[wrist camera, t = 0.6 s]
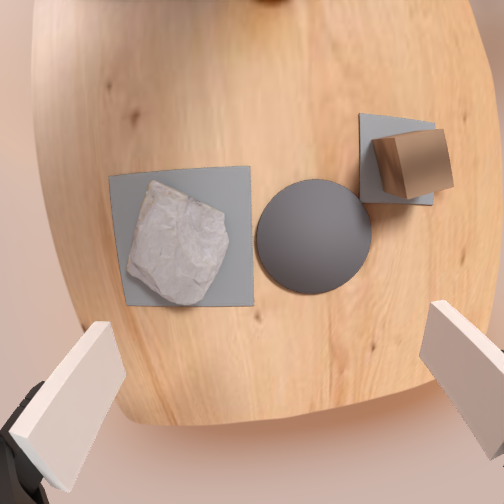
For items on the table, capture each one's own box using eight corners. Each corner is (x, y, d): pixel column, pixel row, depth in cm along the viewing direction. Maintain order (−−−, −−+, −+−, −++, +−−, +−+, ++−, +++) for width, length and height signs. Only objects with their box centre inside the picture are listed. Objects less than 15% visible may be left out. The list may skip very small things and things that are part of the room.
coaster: (255, 179, 33) (255, 180, 32) (372, 180, 32) (374, 181, 32) (258, 293, 36) (258, 295, 36) (364, 288, 36) (366, 290, 36)
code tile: (109, 176, 32) (108, 176, 32) (250, 165, 32) (250, 165, 32) (127, 304, 37) (126, 305, 37) (254, 304, 37) (254, 305, 37)
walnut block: (371, 139, 31) (394, 137, 25) (415, 130, 30) (443, 128, 25) (383, 191, 33) (407, 199, 27) (425, 180, 32) (453, 186, 26)
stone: (242, 213, 33) (241, 219, 30) (204, 304, 37) (199, 319, 33) (155, 178, 32) (144, 180, 29) (126, 271, 35) (114, 283, 32)
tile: (359, 113, 30) (359, 113, 30) (434, 123, 30) (434, 123, 30) (359, 202, 33) (359, 202, 33) (432, 204, 33) (433, 204, 33)
